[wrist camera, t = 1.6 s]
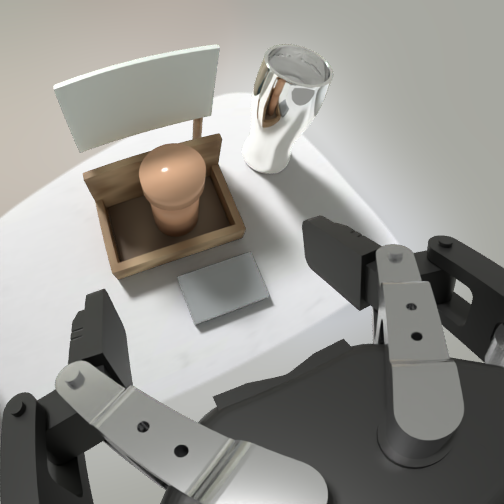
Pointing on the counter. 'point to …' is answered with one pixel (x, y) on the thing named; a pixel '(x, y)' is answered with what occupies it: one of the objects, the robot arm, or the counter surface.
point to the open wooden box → (141, 216)
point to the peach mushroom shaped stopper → (173, 186)
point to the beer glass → (284, 104)
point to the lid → (139, 95)
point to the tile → (222, 287)
